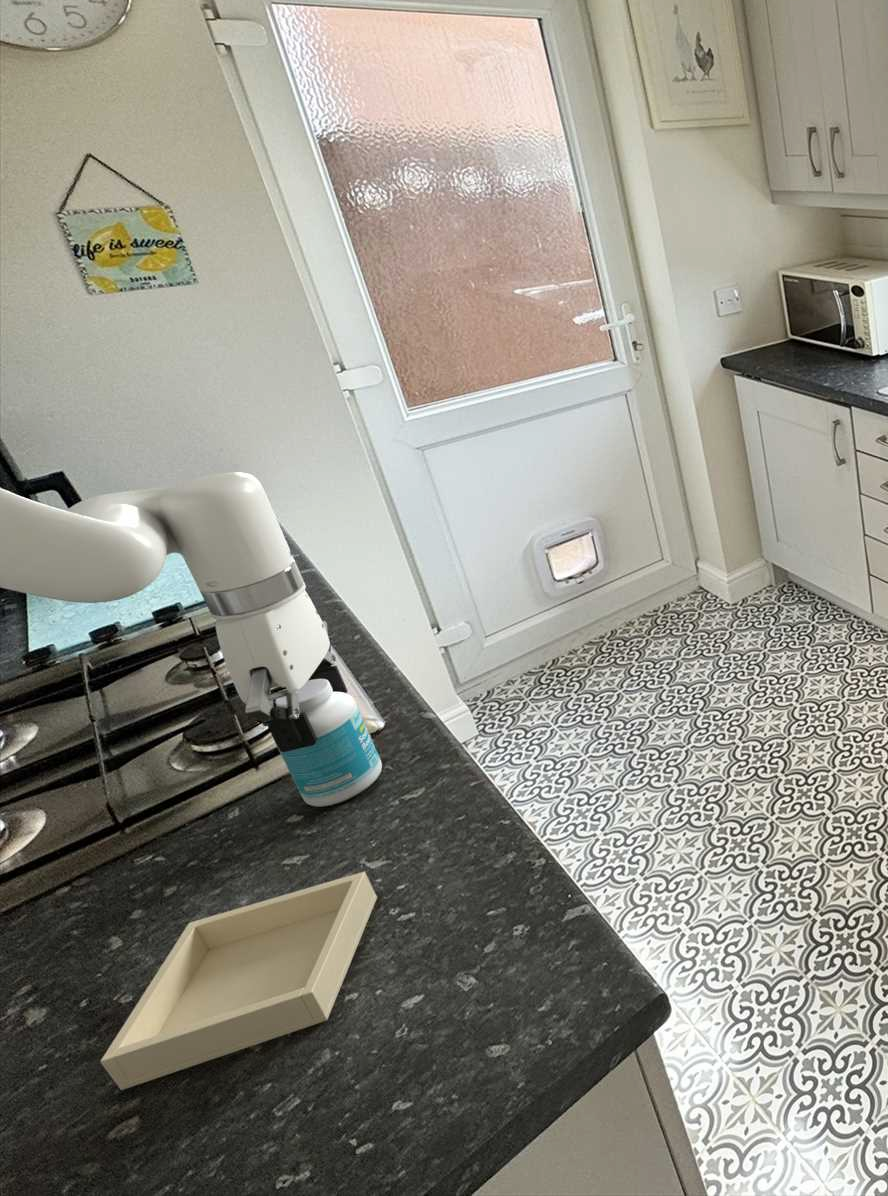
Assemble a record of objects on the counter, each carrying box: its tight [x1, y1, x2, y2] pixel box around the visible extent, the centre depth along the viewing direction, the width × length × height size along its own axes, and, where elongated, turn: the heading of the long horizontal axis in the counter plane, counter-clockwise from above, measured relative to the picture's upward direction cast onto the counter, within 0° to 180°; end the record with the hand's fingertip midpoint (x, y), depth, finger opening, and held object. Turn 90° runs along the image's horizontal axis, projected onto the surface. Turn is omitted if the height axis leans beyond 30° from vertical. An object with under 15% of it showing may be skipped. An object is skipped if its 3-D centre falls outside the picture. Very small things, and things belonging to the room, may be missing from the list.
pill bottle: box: [271, 679, 383, 807], centre depth 89 cm, size 8×7×14 cm
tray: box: [100, 871, 378, 1091], centre depth 69 cm, size 14×13×4 cm
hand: (316, 720), depth 88 cm, fingers open, 8 cm apart
